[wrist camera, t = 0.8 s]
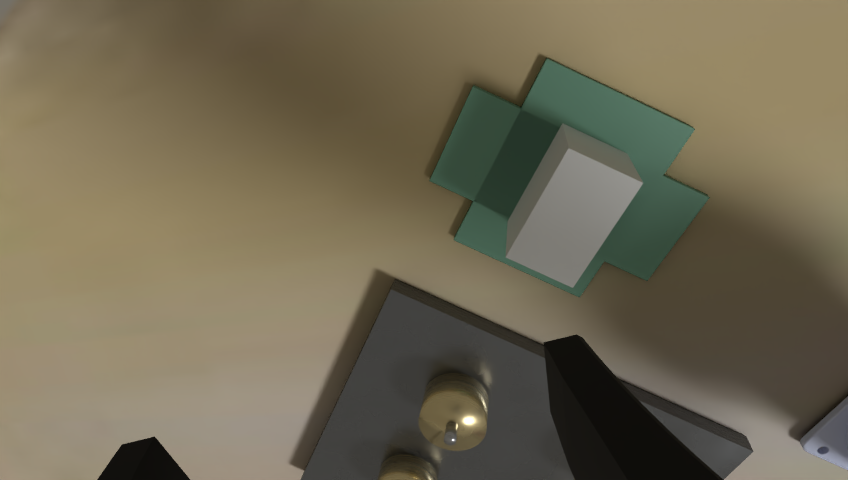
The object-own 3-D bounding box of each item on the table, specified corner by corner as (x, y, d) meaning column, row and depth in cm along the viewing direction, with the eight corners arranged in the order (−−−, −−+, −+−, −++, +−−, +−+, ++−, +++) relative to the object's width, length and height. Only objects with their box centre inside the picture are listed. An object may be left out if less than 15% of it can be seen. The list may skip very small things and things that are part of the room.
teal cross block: (736, 146, 23) (778, 182, 19) (618, 307, 27) (633, 362, 24) (497, 32, 23) (492, 46, 19) (414, 213, 27) (396, 255, 23)
